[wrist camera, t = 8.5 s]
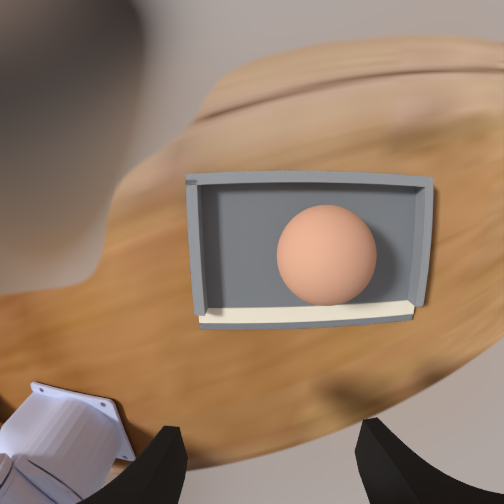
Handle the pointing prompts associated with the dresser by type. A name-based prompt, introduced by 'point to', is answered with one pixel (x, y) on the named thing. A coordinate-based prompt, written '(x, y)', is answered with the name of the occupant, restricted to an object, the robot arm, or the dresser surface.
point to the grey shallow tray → (268, 234)
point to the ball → (326, 255)
